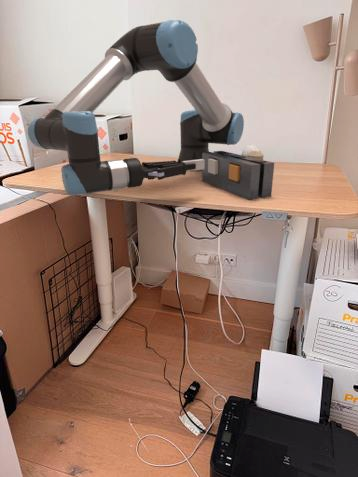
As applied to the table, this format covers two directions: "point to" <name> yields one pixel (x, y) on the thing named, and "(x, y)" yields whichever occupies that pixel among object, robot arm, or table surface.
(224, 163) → the dark grey button box
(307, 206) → the table surface
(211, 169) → the white button
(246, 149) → the light bulb
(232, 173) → the orange button
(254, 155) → the candle
